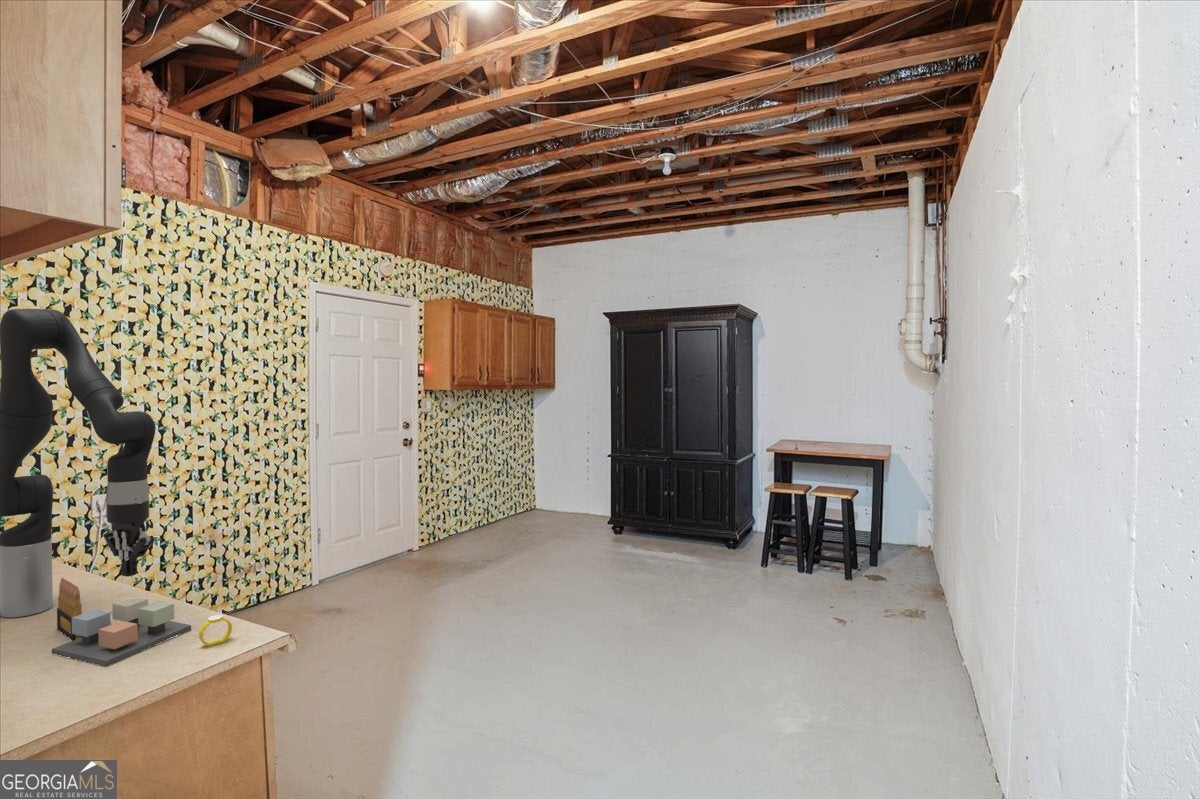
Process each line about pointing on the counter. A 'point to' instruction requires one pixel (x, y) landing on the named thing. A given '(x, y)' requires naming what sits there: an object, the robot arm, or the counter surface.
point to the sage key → (155, 613)
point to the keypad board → (121, 653)
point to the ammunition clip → (68, 608)
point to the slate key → (90, 622)
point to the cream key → (128, 608)
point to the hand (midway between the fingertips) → (129, 575)
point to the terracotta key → (118, 634)
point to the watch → (213, 620)
